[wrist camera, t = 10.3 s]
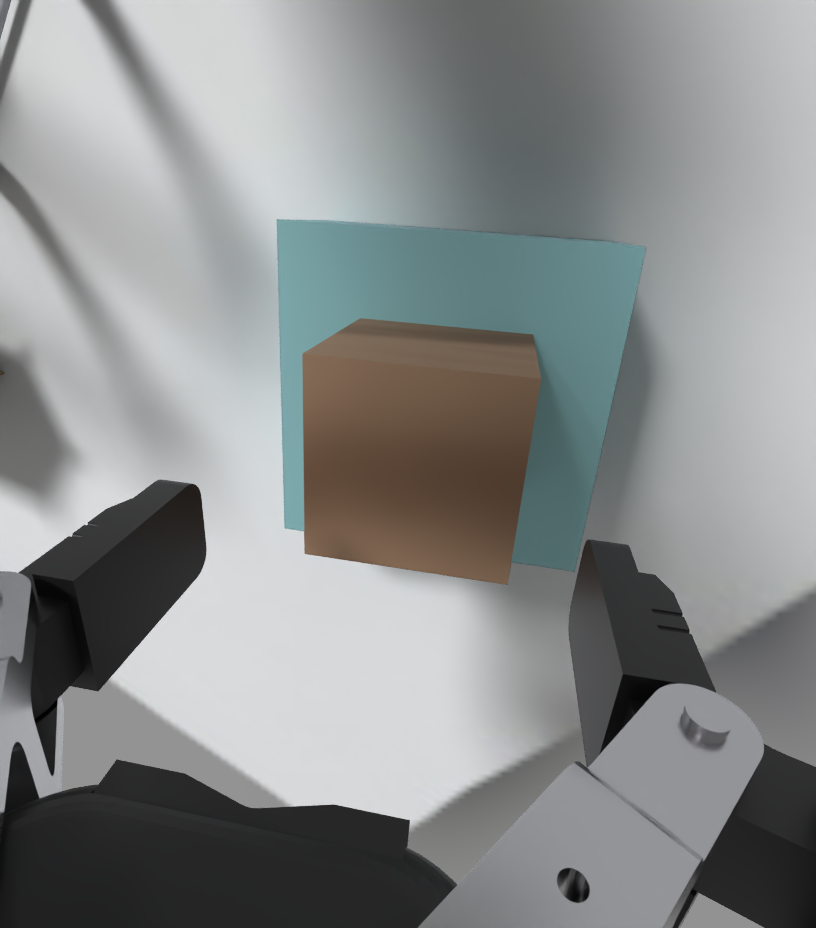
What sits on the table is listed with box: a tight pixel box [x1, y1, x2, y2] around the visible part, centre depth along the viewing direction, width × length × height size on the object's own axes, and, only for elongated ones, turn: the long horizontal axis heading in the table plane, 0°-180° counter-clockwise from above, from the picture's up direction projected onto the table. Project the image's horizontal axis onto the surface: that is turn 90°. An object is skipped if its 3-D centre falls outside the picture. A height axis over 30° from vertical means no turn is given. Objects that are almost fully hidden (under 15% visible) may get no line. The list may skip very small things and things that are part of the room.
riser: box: [277, 219, 646, 572], centre depth 23 cm, size 12×12×6 cm
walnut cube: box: [302, 318, 541, 585], centre depth 18 cm, size 6×6×6 cm
